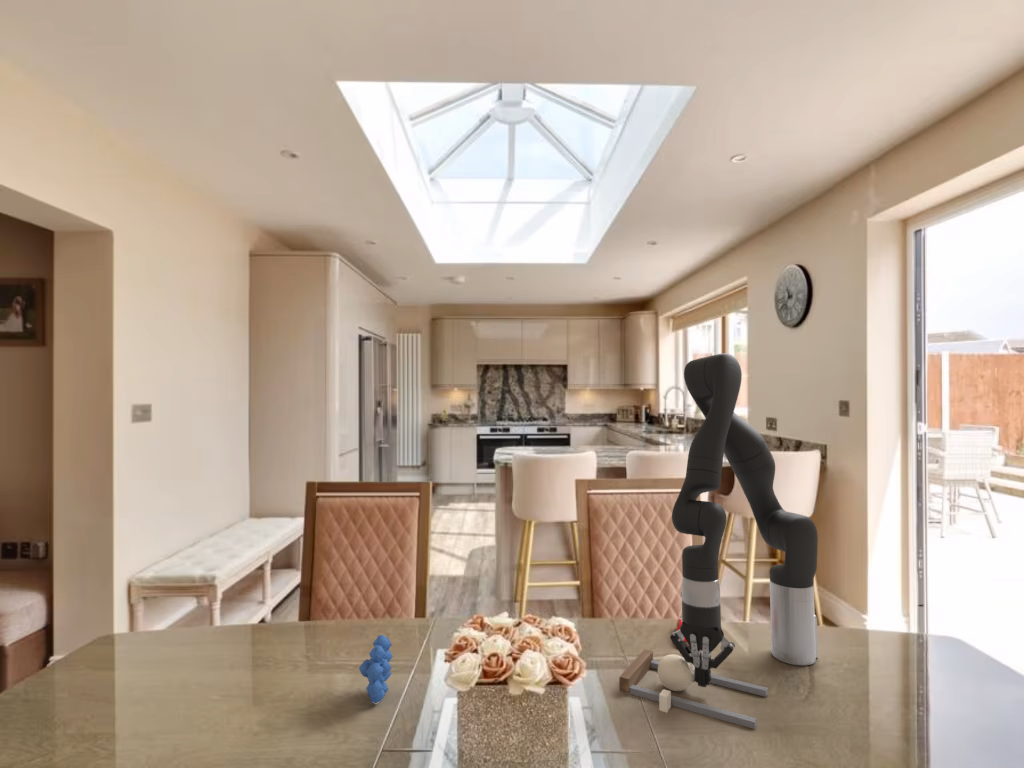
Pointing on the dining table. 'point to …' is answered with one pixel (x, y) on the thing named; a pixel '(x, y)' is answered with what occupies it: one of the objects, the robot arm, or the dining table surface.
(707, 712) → the rails
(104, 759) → the dining table surface
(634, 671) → the backstop
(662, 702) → the line posts
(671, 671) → the cream round ball
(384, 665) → the grapes
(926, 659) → the dining table surface
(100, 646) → the dining table surface
